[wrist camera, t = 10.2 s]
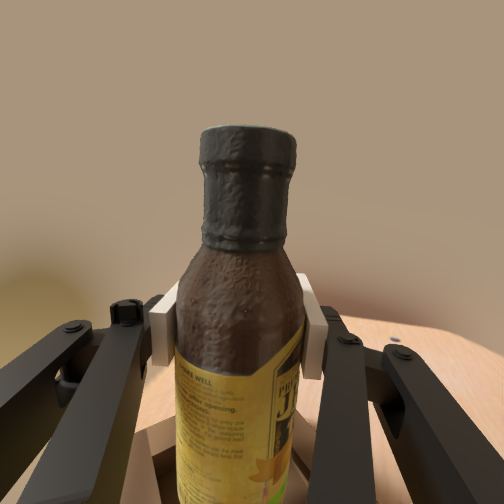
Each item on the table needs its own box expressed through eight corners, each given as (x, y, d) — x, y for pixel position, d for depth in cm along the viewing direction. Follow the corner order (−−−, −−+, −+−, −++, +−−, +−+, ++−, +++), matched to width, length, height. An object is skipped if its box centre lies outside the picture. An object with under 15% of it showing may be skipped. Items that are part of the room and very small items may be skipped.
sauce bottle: (291, 573, 12) (359, 112, 7) (160, 566, 12) (132, 99, 7) (278, 440, 18) (308, 149, 13) (193, 435, 18) (190, 142, 13)
